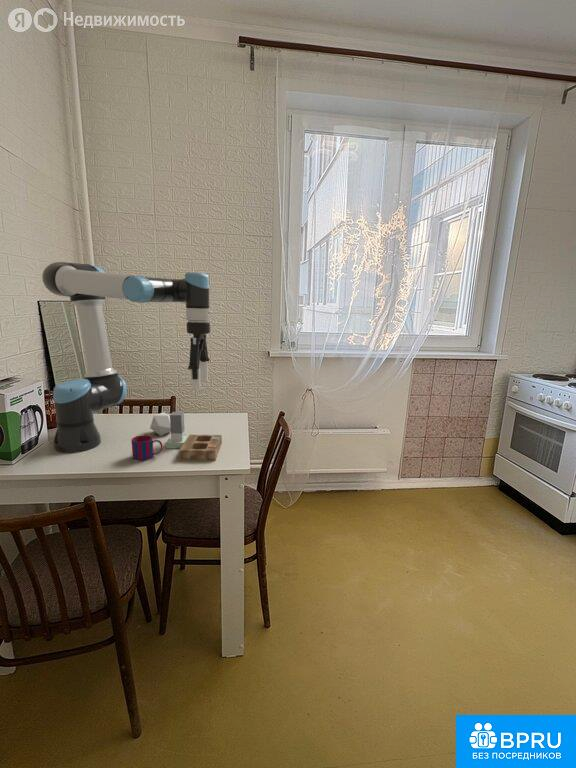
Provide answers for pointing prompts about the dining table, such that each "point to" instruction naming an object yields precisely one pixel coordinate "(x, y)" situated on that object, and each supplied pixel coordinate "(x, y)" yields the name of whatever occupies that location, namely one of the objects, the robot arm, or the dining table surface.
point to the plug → (177, 426)
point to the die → (161, 424)
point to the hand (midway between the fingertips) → (200, 384)
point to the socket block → (201, 447)
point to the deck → (175, 443)
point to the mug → (143, 447)
